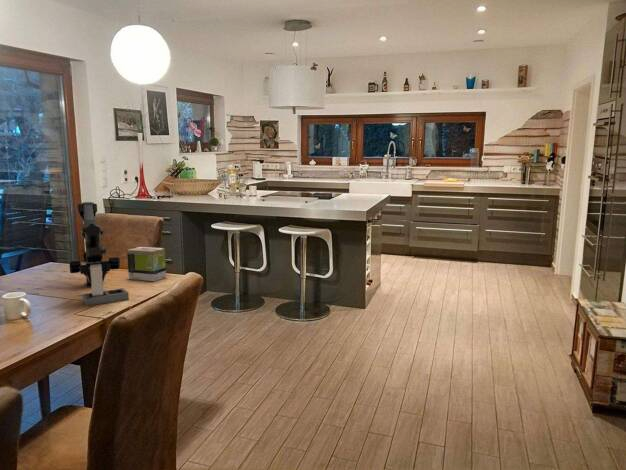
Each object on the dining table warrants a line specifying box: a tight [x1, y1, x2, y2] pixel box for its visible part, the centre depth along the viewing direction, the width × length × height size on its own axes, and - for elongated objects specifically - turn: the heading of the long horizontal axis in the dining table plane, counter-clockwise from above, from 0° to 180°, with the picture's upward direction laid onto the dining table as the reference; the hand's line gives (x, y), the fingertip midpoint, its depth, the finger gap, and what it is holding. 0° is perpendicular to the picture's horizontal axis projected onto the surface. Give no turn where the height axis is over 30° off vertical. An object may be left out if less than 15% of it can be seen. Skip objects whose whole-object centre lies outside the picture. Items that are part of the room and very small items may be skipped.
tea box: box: [126, 246, 167, 282], centre depth 234 cm, size 15×10×15 cm
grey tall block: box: [90, 262, 104, 297], centre depth 195 cm, size 4×4×14 cm
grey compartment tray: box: [81, 287, 130, 307], centre depth 198 cm, size 8×16×3 cm, turn 127°
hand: (96, 282), depth 194 cm, fingers closed on grey tall block, 4 cm apart
